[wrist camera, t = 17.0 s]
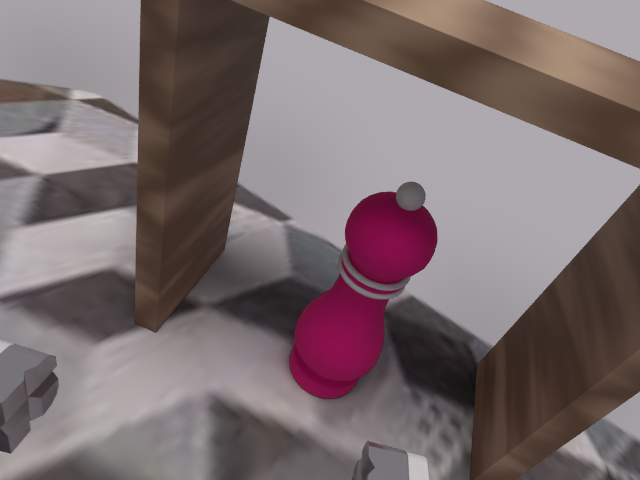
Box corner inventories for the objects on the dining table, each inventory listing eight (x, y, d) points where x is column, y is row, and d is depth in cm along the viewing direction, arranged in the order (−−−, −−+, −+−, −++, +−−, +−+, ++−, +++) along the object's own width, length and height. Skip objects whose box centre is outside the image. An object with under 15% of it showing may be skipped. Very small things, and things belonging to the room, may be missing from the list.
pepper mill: (320, 319, 44) (400, 141, 31) (377, 372, 41) (491, 200, 28) (266, 360, 39) (335, 167, 26) (327, 422, 36) (437, 242, 23)
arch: (134, 322, 38) (142, -89, 19) (207, 241, 47) (259, -89, 29) (493, 494, 35) (892, 213, 17) (495, 374, 45) (755, 107, 26)
